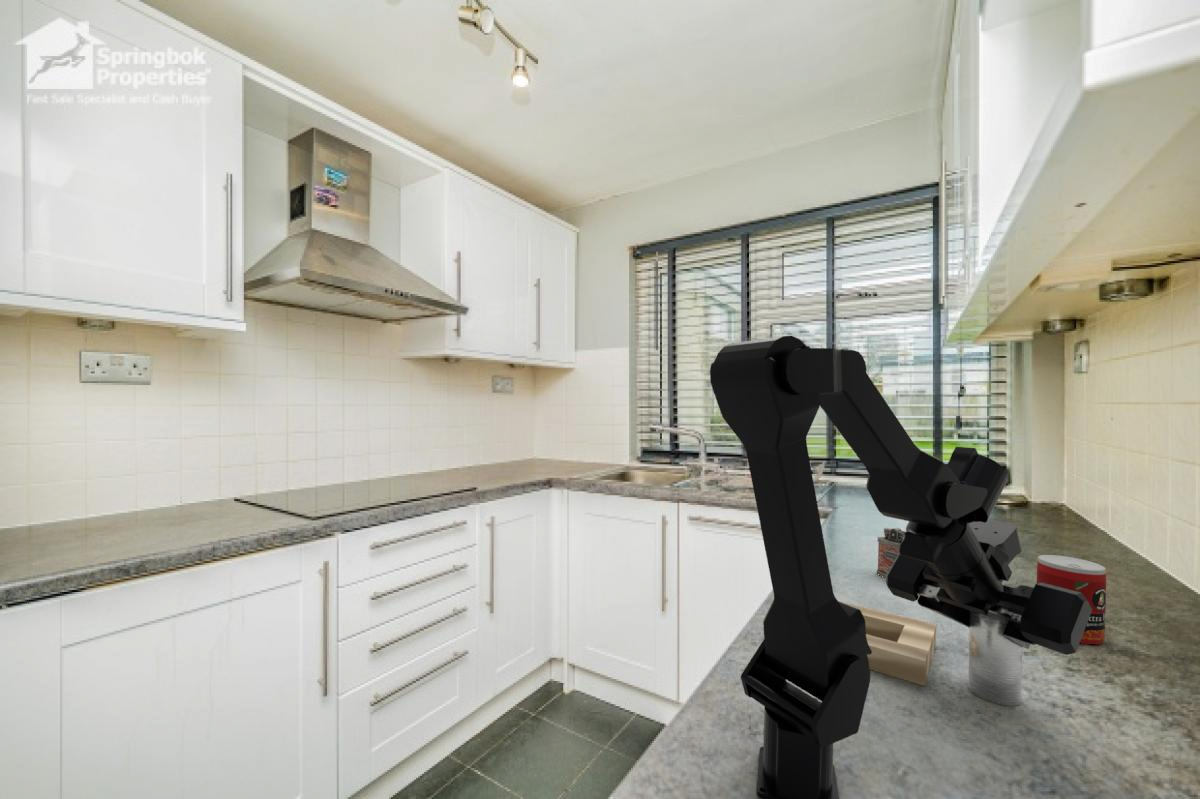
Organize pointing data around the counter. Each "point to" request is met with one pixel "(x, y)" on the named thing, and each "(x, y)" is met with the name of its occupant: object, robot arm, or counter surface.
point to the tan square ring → (899, 644)
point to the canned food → (1079, 588)
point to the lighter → (888, 549)
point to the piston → (994, 660)
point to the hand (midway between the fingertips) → (1001, 635)
